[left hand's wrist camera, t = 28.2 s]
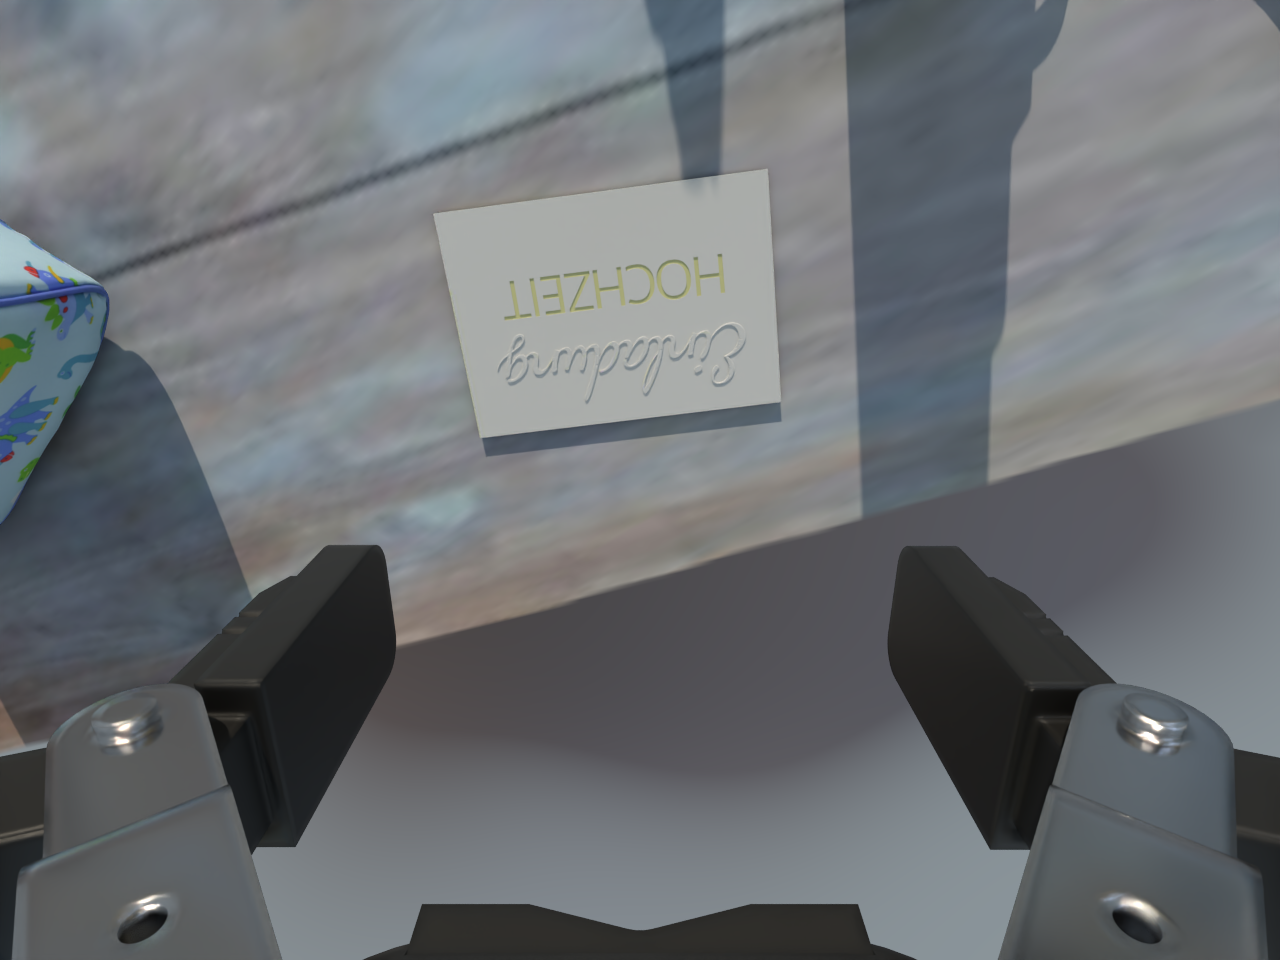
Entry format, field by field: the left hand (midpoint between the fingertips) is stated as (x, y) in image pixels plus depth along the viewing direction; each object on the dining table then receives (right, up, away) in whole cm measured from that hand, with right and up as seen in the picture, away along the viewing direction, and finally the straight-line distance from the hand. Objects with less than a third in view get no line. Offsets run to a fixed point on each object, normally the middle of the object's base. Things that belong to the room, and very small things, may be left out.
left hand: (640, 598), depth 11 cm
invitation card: (-2, +13, +37) cm, 39 cm away
